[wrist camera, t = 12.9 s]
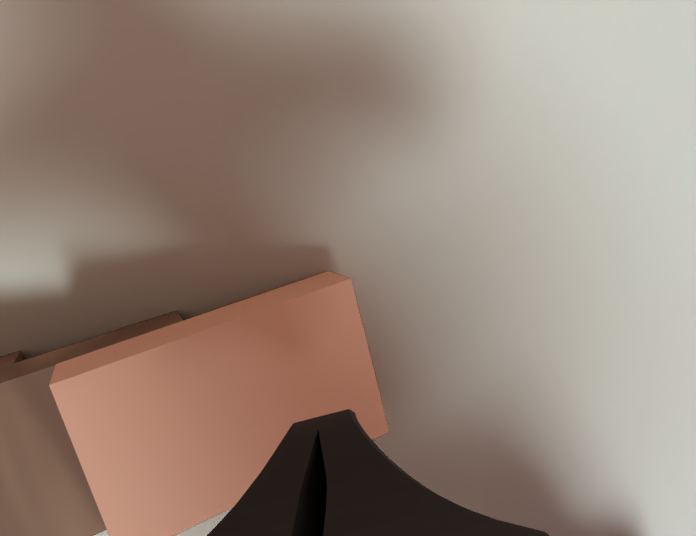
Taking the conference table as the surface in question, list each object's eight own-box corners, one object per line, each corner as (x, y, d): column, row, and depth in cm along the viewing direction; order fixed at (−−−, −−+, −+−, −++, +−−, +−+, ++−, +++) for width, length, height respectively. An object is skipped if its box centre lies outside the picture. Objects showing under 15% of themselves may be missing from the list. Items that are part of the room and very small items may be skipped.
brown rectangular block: (183, 322, 15) (-158, 436, 13) (231, 473, 16) (-72, 609, 14) (177, 310, 17) (-128, 408, 14) (220, 448, 18) (-53, 566, 15)
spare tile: (351, 278, 15) (48, 385, 13) (389, 431, 17) (119, 561, 14) (327, 271, 17) (55, 364, 14) (364, 411, 18) (118, 523, 15)
